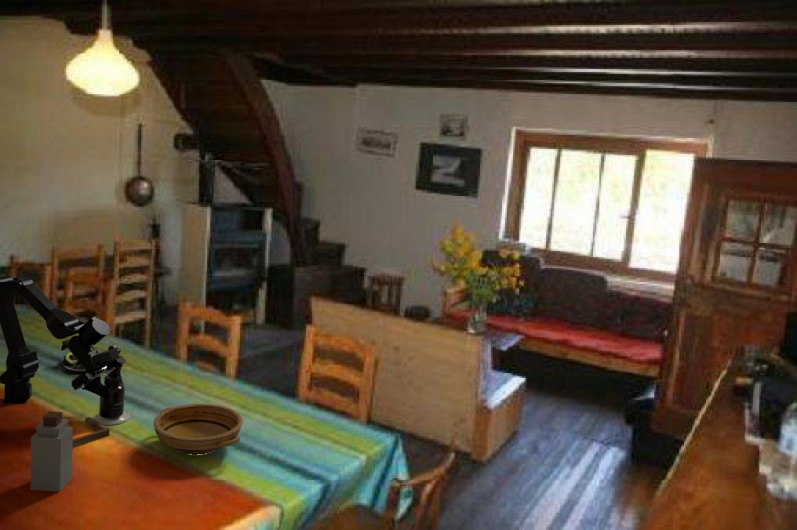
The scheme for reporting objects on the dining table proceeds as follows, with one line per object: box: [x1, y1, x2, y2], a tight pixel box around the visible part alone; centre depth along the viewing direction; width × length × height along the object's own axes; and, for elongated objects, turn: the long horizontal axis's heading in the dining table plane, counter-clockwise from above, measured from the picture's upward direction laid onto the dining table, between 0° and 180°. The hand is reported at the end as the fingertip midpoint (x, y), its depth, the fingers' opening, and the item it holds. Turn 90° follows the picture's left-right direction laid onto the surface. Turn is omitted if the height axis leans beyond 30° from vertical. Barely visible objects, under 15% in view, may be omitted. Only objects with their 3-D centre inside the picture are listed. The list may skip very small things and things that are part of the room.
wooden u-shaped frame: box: [72, 416, 111, 449], centre depth 183 cm, size 11×12×2 cm
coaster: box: [93, 411, 131, 426], centre depth 196 cm, size 10×10×1 cm
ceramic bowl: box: [153, 403, 244, 456], centre depth 183 cm, size 30×24×8 cm
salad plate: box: [60, 351, 85, 375], centre depth 237 cm, size 19×18×5 cm
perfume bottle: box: [30, 410, 74, 493], centre depth 156 cm, size 7×7×18 cm
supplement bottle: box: [98, 374, 126, 419], centre depth 194 cm, size 7×7×12 cm
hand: (116, 394), depth 194 cm, fingers closed on supplement bottle, 7 cm apart
